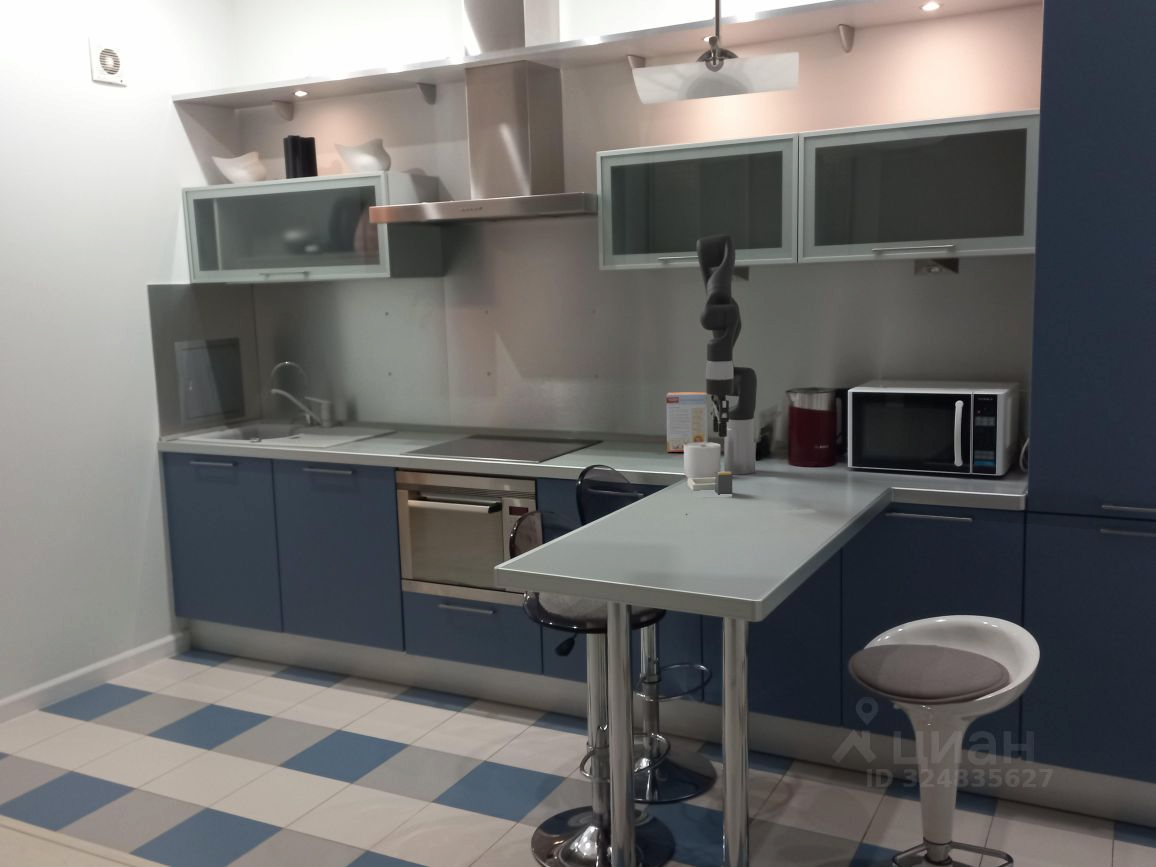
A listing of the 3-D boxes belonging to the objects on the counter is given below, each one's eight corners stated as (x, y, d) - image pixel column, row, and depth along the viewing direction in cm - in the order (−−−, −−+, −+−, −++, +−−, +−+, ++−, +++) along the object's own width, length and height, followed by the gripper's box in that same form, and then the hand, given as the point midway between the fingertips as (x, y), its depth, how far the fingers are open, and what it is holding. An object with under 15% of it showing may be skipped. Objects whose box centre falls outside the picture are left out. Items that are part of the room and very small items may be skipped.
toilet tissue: (718, 480, 314) (718, 448, 313) (679, 479, 317) (679, 447, 315) (722, 473, 324) (722, 442, 323) (684, 472, 327) (684, 441, 326)
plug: (729, 492, 294) (729, 469, 293) (732, 495, 290) (732, 472, 289) (715, 492, 294) (715, 470, 293) (718, 495, 290) (718, 472, 289)
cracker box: (707, 450, 364) (707, 391, 361) (707, 453, 358) (706, 393, 355) (668, 450, 366) (667, 391, 363) (666, 453, 361) (666, 393, 357)
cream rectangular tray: (722, 486, 306) (722, 476, 306) (735, 500, 288) (735, 489, 288) (685, 487, 306) (685, 478, 305) (696, 501, 288) (696, 491, 287)
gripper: (738, 379, 280) (738, 438, 283) (728, 373, 294) (728, 429, 297) (710, 380, 280) (710, 439, 282) (702, 374, 294) (702, 430, 296)
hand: (719, 434), depth 289 cm, fingers open, 8 cm apart
